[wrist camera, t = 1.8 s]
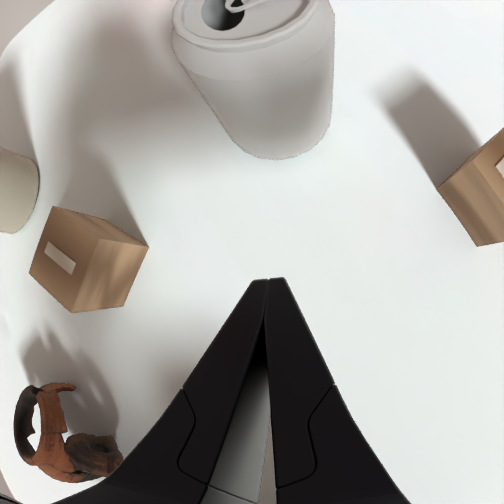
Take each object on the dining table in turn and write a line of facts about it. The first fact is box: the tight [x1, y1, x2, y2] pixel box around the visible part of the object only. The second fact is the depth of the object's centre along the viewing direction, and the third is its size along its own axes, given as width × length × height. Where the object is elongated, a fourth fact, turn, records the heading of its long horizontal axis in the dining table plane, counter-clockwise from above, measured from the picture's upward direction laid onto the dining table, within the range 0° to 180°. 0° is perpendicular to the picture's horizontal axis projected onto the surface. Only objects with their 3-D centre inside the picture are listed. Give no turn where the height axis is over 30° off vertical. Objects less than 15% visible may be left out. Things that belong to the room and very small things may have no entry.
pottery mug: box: [14, 383, 123, 483], centre depth 21 cm, size 12×10×8 cm
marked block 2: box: [29, 206, 149, 313], centre depth 20 cm, size 5×5×6 cm
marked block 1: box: [436, 128, 504, 247], centre depth 15 cm, size 5×5×6 cm
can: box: [172, 0, 335, 160], centre depth 16 cm, size 8×8×12 cm
